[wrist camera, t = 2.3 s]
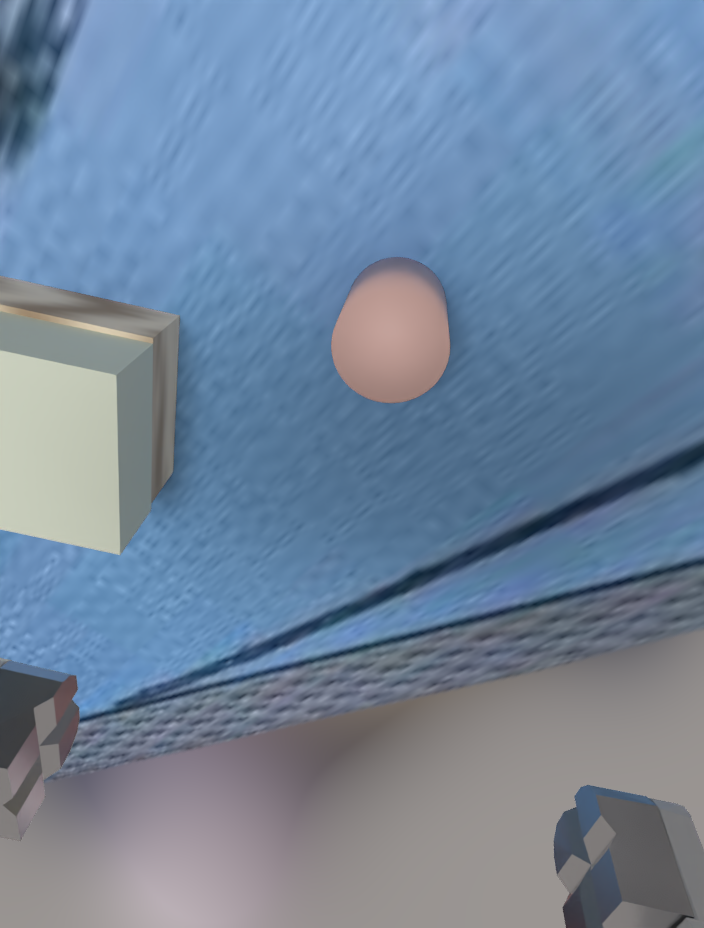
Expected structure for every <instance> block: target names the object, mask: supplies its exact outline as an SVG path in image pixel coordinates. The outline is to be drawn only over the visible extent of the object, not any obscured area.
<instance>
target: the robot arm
mask: <svg viewBox="0 0 704 928" xmlns="http://www.w3.org/2000/svg"><path fill="white" fill-rule="evenodd" d="M77 690H78V687H77V679H76V676H75V675H71V674H67V673H62V672H58V671H54V670H49V669H45V668H40V667H36V666H32V665H27V664H23V663H19V662H14V661H12V660H7V659H2V658H0V837H1V838H7V839H12V840H17V841H21V839H22V837H23V836H24V834H25V832H26V830H27V828H28V827H29V825H30V823H31V821H32V819H33V818H34V816H35V814H36V812H37V810H38V809H39V807H40V805H41V803H42V802H43V800H44V798H45V791H44V782H43V780H44V779H46V778H47V777H49V776H50V775H52V774H53V773H55V772H56V771H58V770H59V769H61V767H62V765H63V763H64V761H65V760H66V758H67V756H68V754H69V752H70V750H71V747H72V745H73V742H74V739H75V736H76V734H77V730H78V724H79V718H80V717H79V707H78V706H77V705H76V704H75V703H74V701H73V700H72V698H73V697H74V695H75V693H76V692H77ZM575 801H576V806H577V807H575V808H573V809H570V810H568V811H565V812H564V813H563V815H562V817H561V818H560V820H559V821H558V823H557V826H556V832H555V838H554V859H555V866H556V871H557V876H558V877H559V879H560V880H561V882H562V883H563V884H564V886H565V887H566V889H567V890H568V891H569V895H568V897H567V900H566V902H565V904H564V906H563V913H564V919H565V925H566V928H704V849H703V847H702V844H701V842H700V839H699V836H698V834H697V831H696V829H695V826H694V823H693V821H692V818H691V816H690V814H689V812H688V811H687V810H686V809H685V807H683V806H681V805H678V804H676V803H671V802H666V801H661V800H655V799H650V798H647V797H646V796H641V795H636V794H631V793H625V792H620V791H616V790H611V789H605V788H600V787H595V786H590V785H587V786H583V787H581V788H580V789H579V791H578V792H577V794H576V795H575Z"/></svg>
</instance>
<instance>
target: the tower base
mask: <svg viewBox="0 0 704 928" xmlns="http://www.w3.org/2000/svg"><path fill="white" fill-rule="evenodd" d="M0 311H3V312H7V313H12V314H17V315H21V316H26V317H31V318H35V319H40V320H45V321H49V322H54V323H59V324H63V325H68V326H73V327H77V328H82V329H87V330H91V331H96V332H101V333H105V334H110V335H115V336H119V337H124V338H129V339H134V340H138V341H143V342H148V343H152V344H153V392H152V478H151V503H152V502H153V500H154V499H155V498H156V496H157V495H158V493H159V492H160V490H161V489H162V487H163V486H164V485H165V483H166V482H167V480H168V479H169V477H170V476H171V474H172V473H173V463H174V440H175V416H176V393H177V369H178V346H179V323H180V315H175V314H171V313H166V312H162V311H157V310H153V309H148V308H144V307H139V306H135V305H130V304H126V303H121V302H117V301H112V300H108V299H103V298H99V297H94V296H90V295H85V294H81V293H76V292H71V291H67V290H62V289H58V288H53V287H49V286H44V285H40V284H35V283H31V282H26V281H22V280H17V279H13V278H8V277H4V276H0Z"/></svg>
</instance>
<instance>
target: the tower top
mask: <svg viewBox="0 0 704 928" xmlns="http://www.w3.org/2000/svg"><path fill="white" fill-rule="evenodd" d="M152 392H153V344H152V343H148V342H143V341H138V340H134V339H129V338H124V337H119V336H115V335H110V334H105V333H101V332H96V331H91V330H87V329H82V328H77V327H73V326H68V325H63V324H59V323H54V322H49V321H45V320H40V319H35V318H31V317H26V316H21V315H17V314H12V313H7V312H3V311H0V529H2V530H6V531H11V532H16V533H20V534H25V535H30V536H34V537H39V538H44V539H48V540H53V541H58V542H62V543H67V544H72V545H76V546H81V547H86V548H90V549H95V550H100V551H104V552H109V553H114V554H118V555H121V553H122V552H123V550H124V549H125V547H126V546H127V545H128V543H129V542H130V540H131V539H132V537H133V536H134V534H135V533H136V531H137V530H138V529H139V527H140V526H141V524H142V523H143V521H144V520H145V518H146V517H147V516H148V514H149V513H150V511H151V478H152Z"/></svg>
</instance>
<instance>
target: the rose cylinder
mask: <svg viewBox="0 0 704 928" xmlns="http://www.w3.org/2000/svg"><path fill="white" fill-rule="evenodd" d="M331 349H332V357H333V361H334V364H335V367H336V369H337V371H338V373H339V374H340V376H341V378H342V379H343V380H344V381H345V383H346V384H347V385H348V386H349V387H350V388H351V389H353V390H354V391H355V392H357V393H358V394H360V395H362V396H363V397H366V398H368V399H370V400H374V401H377V402H383V403H399V402H404V401H408V400H411V399H414V398H416V397H419V396H421V395H422V394H424V393H425V392H427V391H428V390H429V389H431V388H432V387H433V386H434V385H435V384H436V383H437V381H438V380H439V379H440V377H441V376H442V374H443V372H444V370H445V368H446V366H447V363H448V359H449V355H450V337H449V326H448V315H447V304H446V296H445V292H444V289H443V287H442V285H441V283H440V281H439V279H438V278H437V276H436V275H435V274H434V273H433V272H432V271H431V270H430V269H429V268H428V267H426V266H425V265H423V264H422V263H420V262H417V261H415V260H412V259H409V258H403V257H392V258H386V259H382V260H380V261H377V262H375V263H373V264H371V265H370V266H368V267H367V268H366V269H364V270H363V271H362V272H361V273H360V274H359V276H358V277H357V278H356V280H355V281H354V283H353V285H352V287H351V290H350V292H349V294H348V297H347V299H346V301H345V304H344V306H343V308H342V311H341V313H340V315H339V318H338V320H337V323H336V325H335V327H334V331H333V335H332V342H331Z"/></svg>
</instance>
